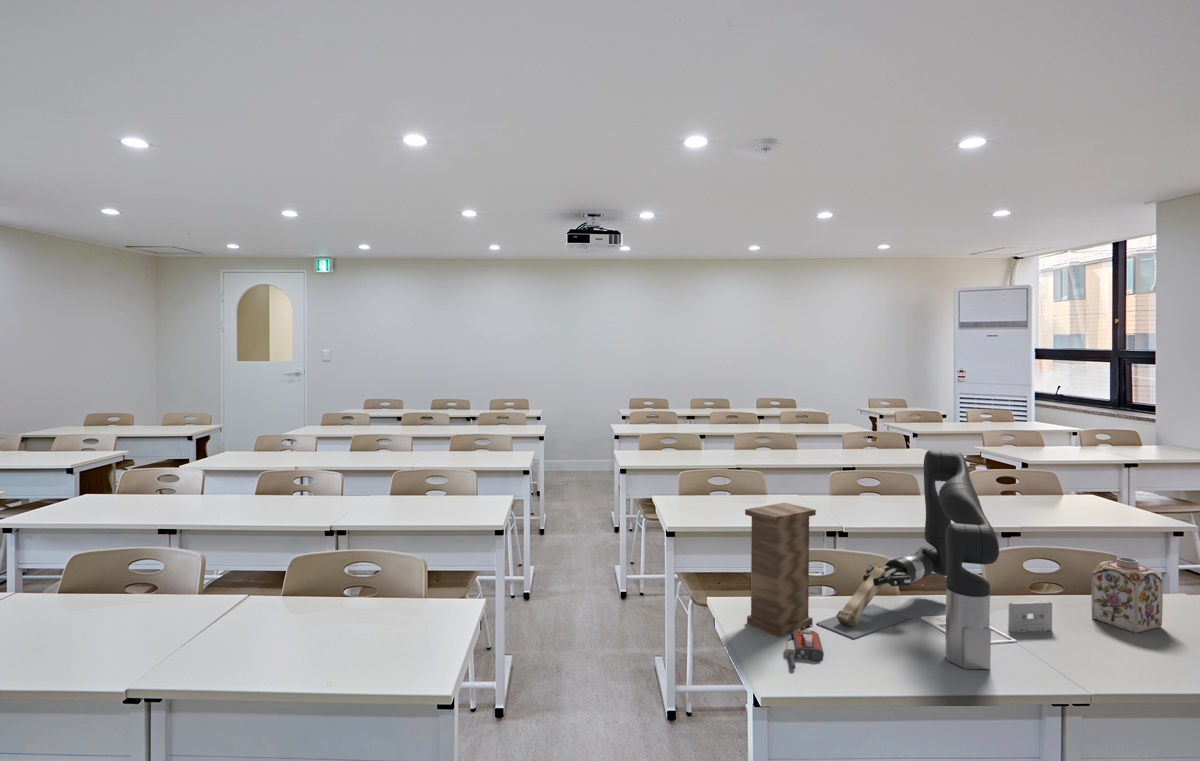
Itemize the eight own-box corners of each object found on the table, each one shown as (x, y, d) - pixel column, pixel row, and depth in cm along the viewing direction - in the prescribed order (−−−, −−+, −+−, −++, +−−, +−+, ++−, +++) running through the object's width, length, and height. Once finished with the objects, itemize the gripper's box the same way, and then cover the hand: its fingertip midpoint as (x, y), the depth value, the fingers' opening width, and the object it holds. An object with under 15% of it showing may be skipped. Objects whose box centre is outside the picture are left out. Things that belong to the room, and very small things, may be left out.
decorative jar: (1163, 628, 177) (1165, 562, 176) (1137, 634, 172) (1138, 567, 172) (1115, 612, 188) (1116, 551, 187) (1089, 618, 183) (1090, 555, 183)
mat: (853, 639, 169) (854, 638, 169) (816, 624, 179) (816, 622, 179) (910, 618, 183) (910, 616, 183) (872, 605, 193) (872, 603, 193)
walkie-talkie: (783, 638, 171) (788, 673, 151) (783, 621, 171) (788, 654, 151) (818, 641, 169) (827, 677, 149) (818, 624, 169) (828, 658, 149)
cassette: (1048, 628, 176) (1048, 600, 176) (1053, 631, 174) (1054, 603, 174) (1006, 630, 175) (1007, 602, 175) (1011, 632, 174) (1012, 604, 173)
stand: (775, 637, 170) (776, 517, 169) (744, 624, 179) (745, 509, 178) (814, 624, 179) (815, 509, 178) (783, 612, 188) (784, 502, 187)
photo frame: (967, 613, 185) (1016, 639, 167) (967, 617, 185) (1016, 643, 167) (921, 616, 183) (965, 643, 165) (921, 620, 183) (965, 647, 165)
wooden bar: (852, 628, 175) (848, 620, 174) (839, 623, 178) (836, 615, 177) (889, 577, 184) (886, 570, 183) (876, 574, 187) (873, 566, 187)
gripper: (883, 551, 197) (848, 561, 188) (927, 563, 186) (892, 574, 176) (883, 576, 198) (848, 586, 188) (927, 589, 186) (892, 601, 176)
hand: (869, 580), depth 182 cm, fingers closed on wooden bar, 2 cm apart
